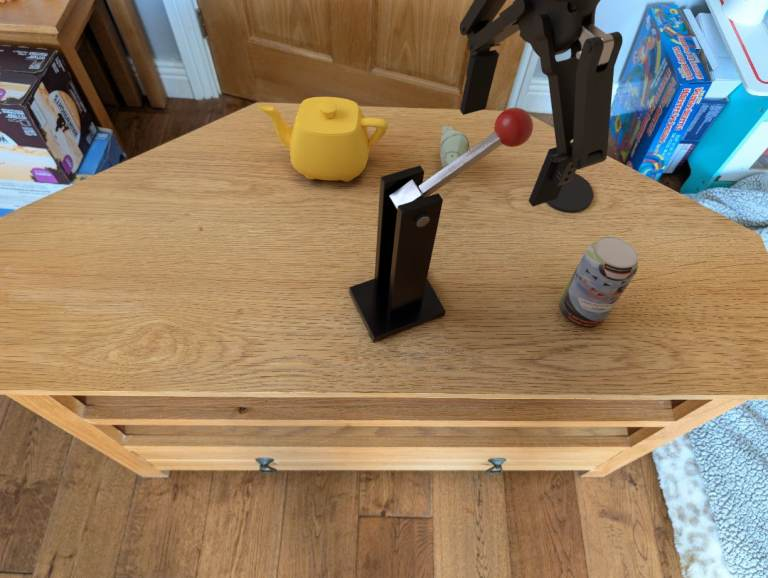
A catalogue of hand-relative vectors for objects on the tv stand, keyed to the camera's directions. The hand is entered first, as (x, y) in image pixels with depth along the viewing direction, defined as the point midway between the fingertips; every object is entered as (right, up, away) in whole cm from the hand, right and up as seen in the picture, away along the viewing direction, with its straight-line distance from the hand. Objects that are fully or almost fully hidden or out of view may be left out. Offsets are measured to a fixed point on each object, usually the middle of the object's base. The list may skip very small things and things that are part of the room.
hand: (505, 152), depth 56 cm
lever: (-4, -2, 0) cm, 4 cm away
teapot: (-21, +6, +30) cm, 37 cm away
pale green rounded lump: (-2, +5, +30) cm, 31 cm away
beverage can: (+14, -16, +18) cm, 28 cm away
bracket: (-11, -16, +17) cm, 25 cm away
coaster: (+15, +1, +29) cm, 32 cm away
